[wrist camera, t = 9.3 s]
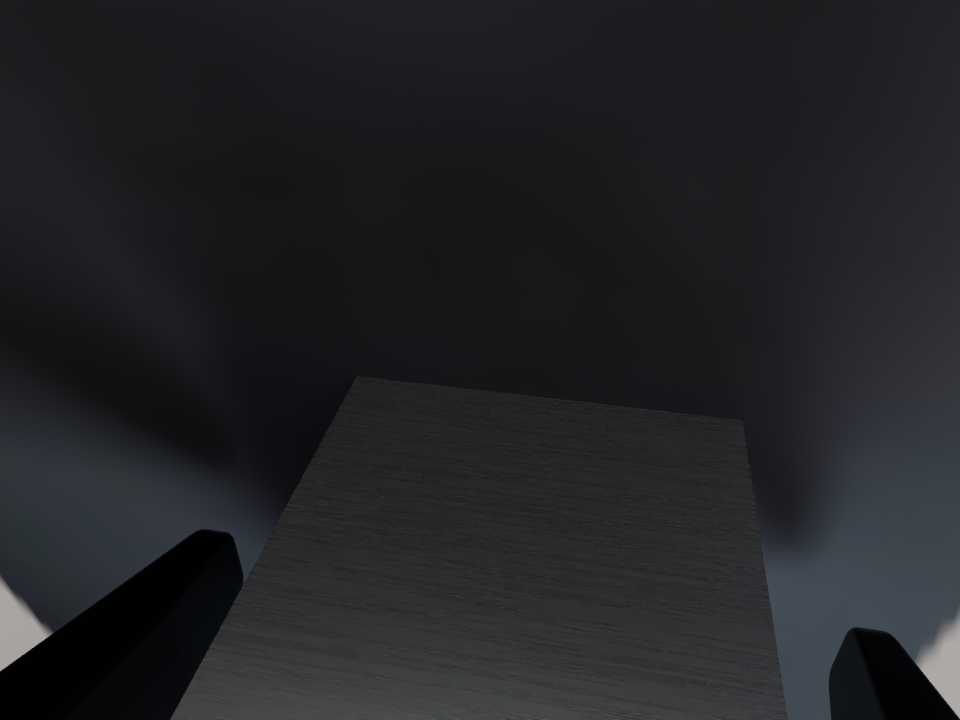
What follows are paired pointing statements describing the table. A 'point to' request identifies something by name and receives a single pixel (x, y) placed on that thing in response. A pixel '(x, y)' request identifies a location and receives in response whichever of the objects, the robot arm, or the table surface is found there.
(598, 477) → the block
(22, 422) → the table surface
